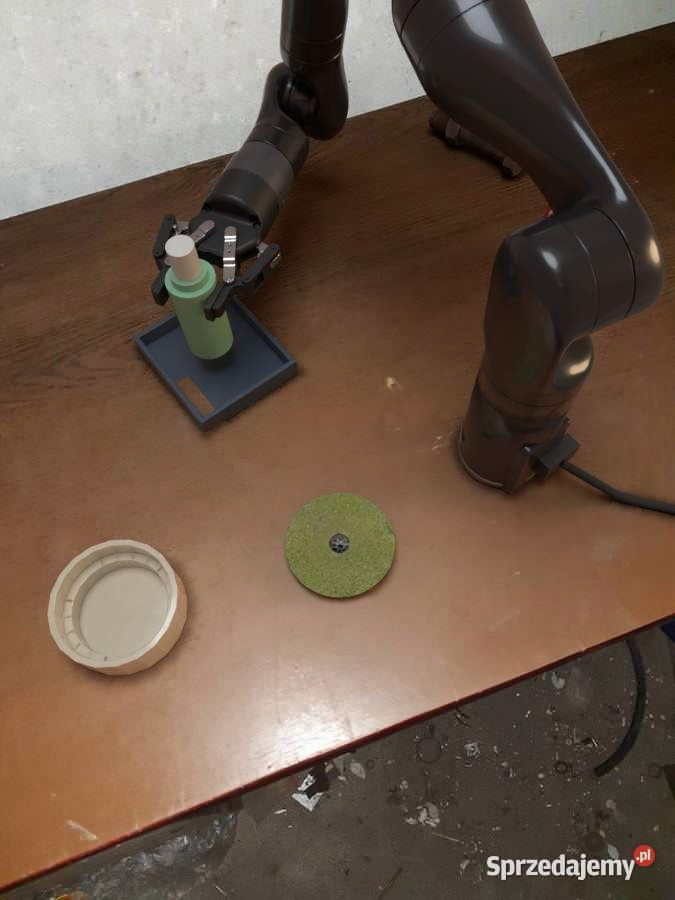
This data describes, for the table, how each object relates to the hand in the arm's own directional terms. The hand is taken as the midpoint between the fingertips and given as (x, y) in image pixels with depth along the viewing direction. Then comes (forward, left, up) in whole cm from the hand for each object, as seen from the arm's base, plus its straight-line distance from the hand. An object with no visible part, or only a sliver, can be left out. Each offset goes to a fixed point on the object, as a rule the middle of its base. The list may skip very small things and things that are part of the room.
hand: (182, 307), depth 71 cm
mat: (-27, +1, -13) cm, 30 cm away
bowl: (-19, +22, -13) cm, 32 cm away
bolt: (+8, -51, -13) cm, 54 cm away
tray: (+1, -2, -13) cm, 13 cm away
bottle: (+1, -2, -9) cm, 10 cm away
